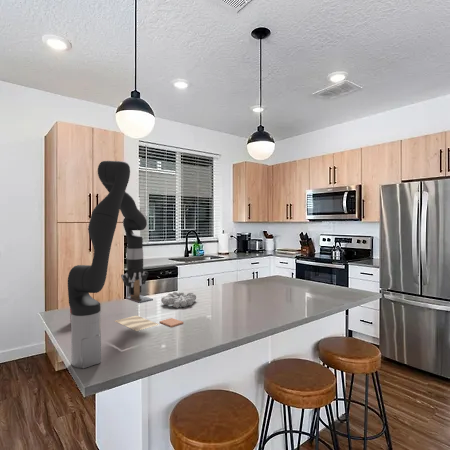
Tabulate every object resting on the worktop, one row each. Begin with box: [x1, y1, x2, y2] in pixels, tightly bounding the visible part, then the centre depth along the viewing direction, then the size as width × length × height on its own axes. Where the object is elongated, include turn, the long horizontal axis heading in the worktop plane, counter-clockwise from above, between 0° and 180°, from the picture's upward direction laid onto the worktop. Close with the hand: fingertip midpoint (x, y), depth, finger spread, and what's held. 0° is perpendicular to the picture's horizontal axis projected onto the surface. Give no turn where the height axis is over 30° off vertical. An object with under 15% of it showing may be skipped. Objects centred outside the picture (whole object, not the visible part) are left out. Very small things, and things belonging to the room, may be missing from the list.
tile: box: [159, 317, 184, 328], centre depth 148 cm, size 2×7×9 cm
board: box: [114, 315, 161, 332], centre depth 148 cm, size 20×12×1 cm, turn 46°
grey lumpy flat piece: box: [160, 291, 197, 309], centre depth 185 cm, size 22×21×6 cm
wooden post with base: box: [125, 279, 154, 304], centre depth 146 cm, size 12×7×9 cm, turn 46°
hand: (135, 294), depth 149 cm, fingers closed on wooden post with base, 3 cm apart
